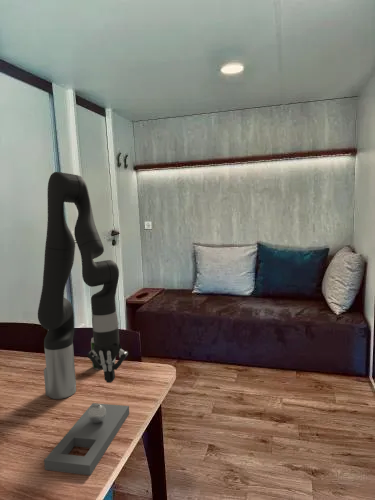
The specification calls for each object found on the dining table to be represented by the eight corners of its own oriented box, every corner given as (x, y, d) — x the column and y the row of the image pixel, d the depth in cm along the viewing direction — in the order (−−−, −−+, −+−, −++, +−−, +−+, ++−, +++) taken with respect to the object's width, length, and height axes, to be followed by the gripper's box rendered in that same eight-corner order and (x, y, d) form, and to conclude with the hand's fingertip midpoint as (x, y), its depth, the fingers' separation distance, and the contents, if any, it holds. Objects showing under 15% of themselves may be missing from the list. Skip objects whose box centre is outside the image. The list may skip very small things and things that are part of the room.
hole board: (44, 469, 87) (44, 460, 87) (93, 410, 112) (92, 403, 112) (90, 475, 85) (89, 465, 84) (129, 413, 110) (128, 405, 110)
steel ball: (85, 425, 100) (84, 409, 100) (93, 415, 105) (92, 399, 104) (102, 427, 99) (101, 410, 99) (109, 417, 104) (108, 400, 103)
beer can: (95, 371, 140) (93, 341, 139) (90, 366, 145) (88, 337, 143) (108, 367, 143) (106, 338, 142) (103, 362, 148) (101, 335, 146)
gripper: (79, 331, 105) (84, 386, 107) (121, 331, 103) (126, 388, 104) (90, 322, 112) (95, 375, 114) (130, 322, 110) (134, 376, 112)
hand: (110, 381), depth 109 cm, fingers closed
